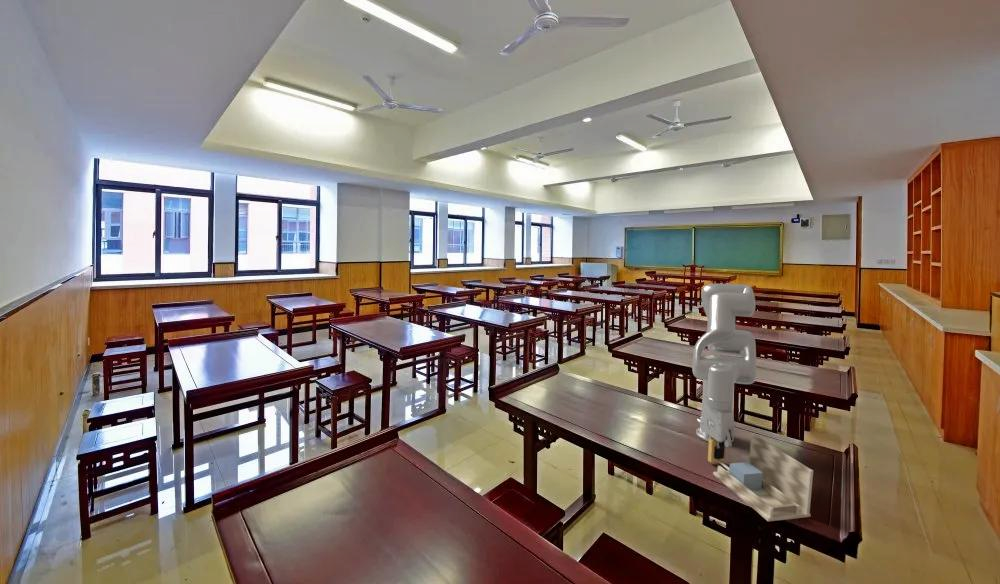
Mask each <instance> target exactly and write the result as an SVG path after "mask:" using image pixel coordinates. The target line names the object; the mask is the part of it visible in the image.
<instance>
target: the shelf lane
mask: <svg viewBox="0 0 1000 584" xmlns="http://www.w3.org/2000/svg"><path fill="white" fill-rule="evenodd" d="M749 444H750V445H749V457H748V458H749V462H748V463H750V464H751V465H753V466H754V467H755V468H757V469H758V470H760V471H761V472H762V473H763V476H762V489H754V490H750V489H748V488H747V487H746V486H745V485H743V484H742V483H741V482H740V481H738V480H737V479H736V478H735V477H733V476H732V475H731V474H730V473H729V470H727V469H726V468H725V467H723V466H721V465H717V469H716V470H717V471H713V472H712V475H713V476H715V477H716V478H717V479H718V480H719V481H720V482H721V483H723V484H724V486H726V487H727V488H728V489H729V490H731V491H732V492H733V493H734V494H735V495H737V497H739V498H740V499H741V500H742V501H744V503H745V504H747V505H749V507H751V508H752V510H754V511H756V513H758V515H760V516H761V517H762V518H763V519H764V520H766V521H767V522H775V521H784V520H793V519H800V518H801V519H802V518H809V517H810V518H811V517H812V516H811V515H812V514H811V513H810V512H811V499H812V490H813V476H814V470H813V469H811V468H809V467H808V466H806V465H804V464H803V463H801V462H800V461H798V460H797V459H795V458H794V457H792V456H790V455H789V454H787V453H786V452H784V451H782V450H780V449H779V448H778V447H776V446H774V445H772V444H770V443H769V442H768V441H766V440H764V439H762V438H761V437H759V436H758V435H756V434H754V433H751V434H750V443H749Z"/></svg>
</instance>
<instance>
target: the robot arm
mask: <svg viewBox="0 0 1000 584" xmlns="http://www.w3.org/2000/svg"><path fill="white" fill-rule="evenodd" d="M700 298H701V303H702V308H703V310H704V313H705V315H706V319H707V324H706V325H707V326H706V328H707V330H706V332H705V333H704V334H702V336H701V337H700V338H699V339H698V340H697V341H696V343H695V345H694V347H693V351H692V365H691V367H692V368H691V369H692V370H691V371H692V374H693V376H694V377H695V378H696V379H699V380H702V401H701V416H700V418H697V419H696V421H697V423H698V424H699V427H698V428H696V429H695V435H696V436H697V437H698V438H700V439H701V440H703V441H706V442H708V443H709V439H712V438H714V439H715V440H716V447H715V449H714V458H715V459H723V458H724V449H725V448H732V447H733V444H732V443H733V442H734V439H735V438H734V433H735V419H734V411H733V410H734V409H733V408H734V393H735V384H740V385H752V384H753V383H755V381H756V378H757V348H756V346H757V345H756V339H755V336H754V334H753V333H752V332H750V331H747V330H741V329H736V317H746V318H747V317H752V316H753V315H754V313H755V311H756V297H755V294H754V290H753V287H752V286H750V285H748V284H744V283H743V284H738V283H735V284H734V283H709V284H706V285H704V286H703V287H702V289H701V297H700ZM706 347H707V349H708V350H709V351H710V352H712V353H714V354H707V355H705V356H704V357H703V356H702V353H703V350H704V349H705V348H706ZM720 442H721V443H720ZM725 450H726V449H725Z"/></svg>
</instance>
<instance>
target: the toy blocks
mask: <svg viewBox="0 0 1000 584" xmlns="http://www.w3.org/2000/svg"><path fill="white" fill-rule="evenodd" d="M720 443H721V442H720ZM715 447H716V440H715V439H714V438H712V439H709V442H708V448H707V449H708V450H707V461H708V462H709V463H719V464H720V466H721V465H722V466H721V467H723V468H724V469H725V470H726V471H727V470H729V473H730V474H731V475H732V476H733V477H735V478H736V479H737V480H738V481H740V482H741V483H742V484H743V485H745V486H746V487H747V488H748V489H750V490H754V489H762V476H763V473H762V472H761V471H760V470H758V469H757V468H755V467H754V466H753V465H751V464H750V463H749V462H748V461H744V462H743V461H742V462H732V463H731V462H730V463H729V466H728V465H727V464H725V463H724V462H725V461H726V448H727V447H726V448H725V449H724V458H723V459H715V458H714V449H715Z"/></svg>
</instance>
